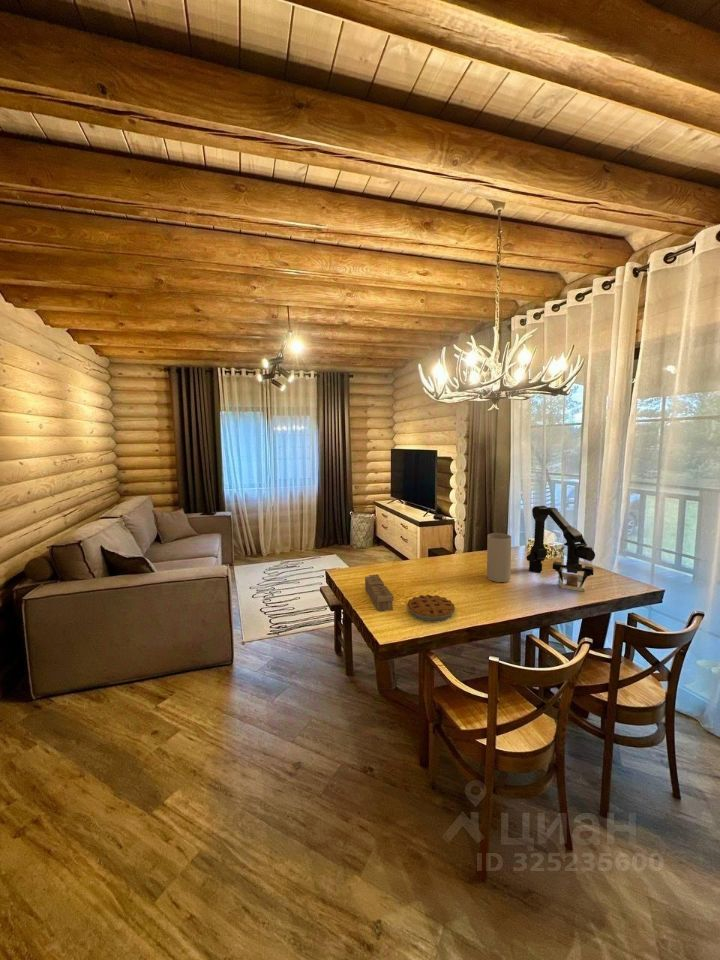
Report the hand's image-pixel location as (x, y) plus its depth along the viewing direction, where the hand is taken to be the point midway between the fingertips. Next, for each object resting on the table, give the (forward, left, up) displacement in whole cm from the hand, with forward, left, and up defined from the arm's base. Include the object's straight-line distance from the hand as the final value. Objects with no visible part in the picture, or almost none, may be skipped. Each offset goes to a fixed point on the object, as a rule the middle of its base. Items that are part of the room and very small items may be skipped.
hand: (572, 583), depth 197 cm
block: (0, 0, -2) cm, 2 cm away
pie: (-54, -65, -2) cm, 85 cm away
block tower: (-82, -65, -2) cm, 105 cm away
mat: (-1, +14, -2) cm, 15 cm away
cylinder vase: (-36, -8, -2) cm, 37 cm away
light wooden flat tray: (0, +2, -2) cm, 2 cm away
